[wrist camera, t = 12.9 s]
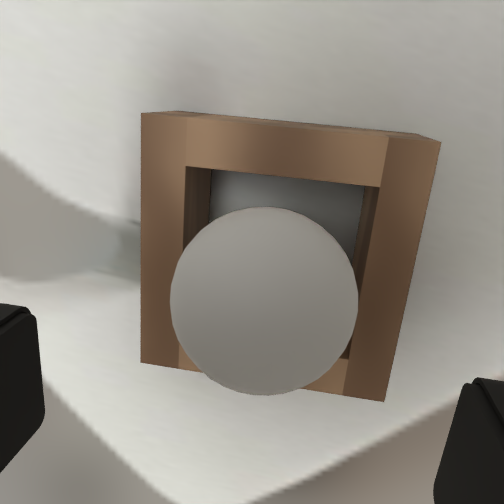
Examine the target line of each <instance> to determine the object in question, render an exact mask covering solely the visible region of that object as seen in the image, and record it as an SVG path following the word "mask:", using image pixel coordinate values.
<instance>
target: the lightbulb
mask: <svg viewBox="0 0 504 504" xmlns="http://www.w3.org/2000/svg"><path fill="white" fill-rule="evenodd" d="M170 309H171V316H172V324H173V327H174V330H175V333H176V336H177V338H178V341H179V342H180V344H181V346H182V347H183V349H184V351H185V353H186V354H187V355H188V357H189V358H190V359H191V360H192V361H193V363H194V364H195V365H196V366H197V367H198V369H200V370H201V371H202V372H203V373H204V374H206V375H207V376H208V377H209V378H210V379H212V380H214V381H215V382H217V383H219V384H221V385H222V386H224V387H227V388H229V389H232V390H235V391H237V392H241V393H246V394H251V395H276V394H283V393H287V392H290V391H293V390H296V389H299V388H302V387H304V386H306V385H308V384H310V383H312V382H314V381H315V380H317V379H319V378H320V377H321V376H322V375H323V374H325V373H326V372H327V371H328V370H329V369H330V368H331V367H332V366H333V365H334V363H335V362H336V361H337V359H338V358H339V357H340V356H341V354H342V353H343V352H344V350H345V348H346V346H347V344H348V342H349V340H350V338H351V336H352V333H353V330H354V326H355V322H356V318H357V313H358V290H357V285H356V280H355V276H354V271H353V268H352V266H351V264H350V262H349V259H348V257H347V255H346V253H345V252H344V250H343V249H342V248H341V246H340V245H339V243H338V242H337V241H336V239H335V238H334V237H333V236H331V235H330V234H329V233H328V232H327V231H326V230H325V229H324V228H323V227H322V226H320V225H319V224H317V223H315V222H314V221H312V220H310V219H309V218H307V217H306V216H304V215H301V214H298V213H296V212H293V211H290V210H288V209H281V208H275V207H250V208H245V209H241V210H237V211H233V212H230V213H228V214H226V215H224V216H221V217H219V218H217V219H215V220H214V221H212V222H211V223H210V224H208V225H207V226H206V227H204V228H203V229H202V230H201V231H200V232H199V233H198V234H197V235H196V236H195V237H194V239H193V240H192V241H191V242H190V243H189V244H188V245H187V247H186V248H185V250H184V252H183V253H182V255H181V257H180V259H179V261H178V263H177V267H176V270H175V273H174V277H173V280H172V284H171V293H170Z"/></svg>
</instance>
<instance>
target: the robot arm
mask: <svg viewBox="0 0 504 504" xmlns="http://www.w3.org/2000/svg"><path fill="white" fill-rule="evenodd" d="M44 415H45V405H44V395H43V384H42V373H41V363H40V352H39V342H38V331H37V321H36V318H35V316H34V315H32V314H31V312H30V310H29V309H28V308H26V307H23V306H16V305H10V304H1V303H0V472H2V470H3V469H4V468H5V467H6V466H7V465H8V463H9V462H10V461H11V460H12V459H13V458H14V456H15V455H16V454H17V453H18V452H19V451H20V449H21V448H22V447H23V446H24V445H25V444H26V443H27V441H28V440H29V439H30V438H31V437H32V436H33V434H34V433H35V432H36V431H37V430H38V429H39V427H40V426H41V424H42V422H43V419H44ZM433 496H434V503H435V504H504V381H498V380H491V379H485V378H478V377H477V378H475V379H474V381H473V382H472V384H470V383H465V384H464V386H463V388H462V390H461V394H460V397H459V400H458V404H457V407H456V411H455V414H454V417H453V421H452V425H451V428H450V431H449V434H448V438H447V442H446V445H445V448H444V451H443V455H442V458H441V462H440V465H439V469H438V472H437V475H436V479H435V482H434V490H433Z"/></svg>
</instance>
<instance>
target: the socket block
mask: <svg viewBox="0 0 504 504" xmlns="http://www.w3.org/2000/svg"><path fill="white" fill-rule="evenodd" d="M440 146H441V142H439V141H436V140H433V139H430V138H427V137H424V136H421V135H418V134H414V133H404V132H393V131H383V130H372V129H362V128H351V127H341V126H330V125H320V124H309V123H299V122H289V121H278V120H268V119H257V118H247V117H236V116H226V115H215V114H205V113H194V112H184V111H167V112H150V113H141V363H147V364H153V365H159V366H165V367H171V368H177V369H184V370H190V371H196V372H202V371H201V370H200V369H198V367H197V366H196V365H195V364H194V363H193V361H192V360H191V359H190V358H189V357H188V355H187V354H186V353H185V351H184V349H183V347H182V346H181V344H180V342H179V341H178V338H177V336H176V333H175V330H174V327H173V324H172V316H171V309H170V293H171V284H172V280H173V277H174V273H175V270H176V267H177V263H178V261H179V259H180V257H181V255H182V253H183V252H184V250H185V248H186V247H187V245H188V244H189V243H190V242H191V241H192V240H193V239H194V237H195V236H196V235H197V234H198V233H199V232H200V231H201V230H202V229H203V228H204V227H206V226H207V225H208V224H209V205H210V187H211V169H219V170H228V171H237V172H246V173H255V174H264V175H273V176H282V177H291V178H301V179H310V180H319V181H328V182H337V183H346V184H355V185H364V186H365V191H364V196H363V202H362V208H361V214H360V220H359V226H358V232H357V238H356V243H355V249H354V255H353V261H352V268H353V271H354V276H355V280H356V285H357V290H358V313H357V318H356V322H355V326H354V330H353V333H352V336H351V338H350V340H349V342H348V344H347V346H346V348H345V350H344V352H343V353H342V354H341V356H340V357H339V358H338V359H337V361H336V362H335V363H334V365H333V366H332V367H331V368H330V369H329V370H328V371H327V372H326V373H325V374H323V375H322V376H321V377H320V378H319V379H317V380H315V381H314V382H312V383H310V384H308V385H306V386H304V387H302V388H301V389H307V390H313V391H319V392H325V393H331V394H338V395H344V396H350V397H356V398H362V399H368V400H374V401H381V402H384V400H385V396H386V391H387V387H388V382H389V378H390V373H391V369H392V364H393V359H394V355H395V350H396V346H397V341H398V337H399V332H400V328H401V323H402V319H403V314H404V310H405V305H406V301H407V296H408V291H409V287H410V282H411V278H412V273H413V269H414V264H415V260H416V255H417V251H418V246H419V242H420V237H421V233H422V228H423V223H424V219H425V214H426V210H427V205H428V201H429V196H430V192H431V187H432V183H433V178H434V174H435V169H436V165H437V160H438V155H439V151H440ZM202 373H203V372H202Z"/></svg>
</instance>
